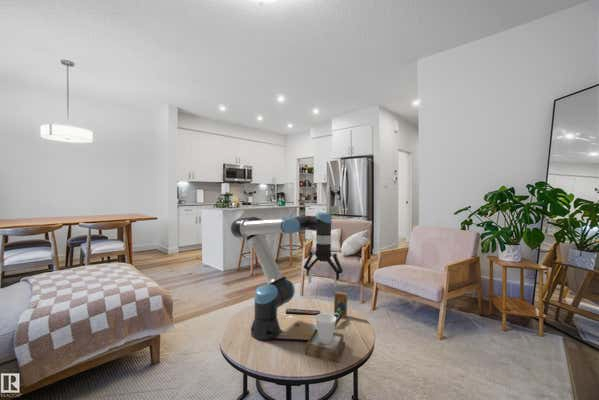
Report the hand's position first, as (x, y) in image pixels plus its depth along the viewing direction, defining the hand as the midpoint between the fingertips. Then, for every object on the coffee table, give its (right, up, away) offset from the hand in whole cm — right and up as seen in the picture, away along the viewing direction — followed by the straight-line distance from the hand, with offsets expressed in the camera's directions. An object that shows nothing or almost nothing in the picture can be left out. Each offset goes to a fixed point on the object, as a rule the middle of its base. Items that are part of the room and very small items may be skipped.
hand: (322, 284), depth 134 cm
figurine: (+10, -27, +17) cm, 33 cm away
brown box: (0, -27, -11) cm, 29 cm away
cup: (0, -23, -12) cm, 26 cm away
